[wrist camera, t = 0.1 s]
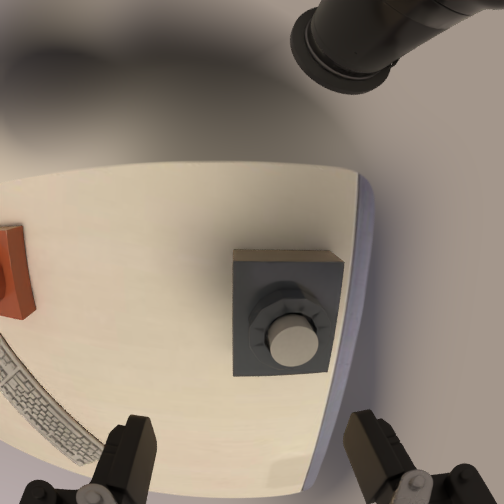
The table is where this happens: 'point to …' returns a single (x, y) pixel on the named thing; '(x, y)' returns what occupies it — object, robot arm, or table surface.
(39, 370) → the table surface
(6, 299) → the button base
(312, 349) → the grey cylindrical knob
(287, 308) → the push button box
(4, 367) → the keyboard
